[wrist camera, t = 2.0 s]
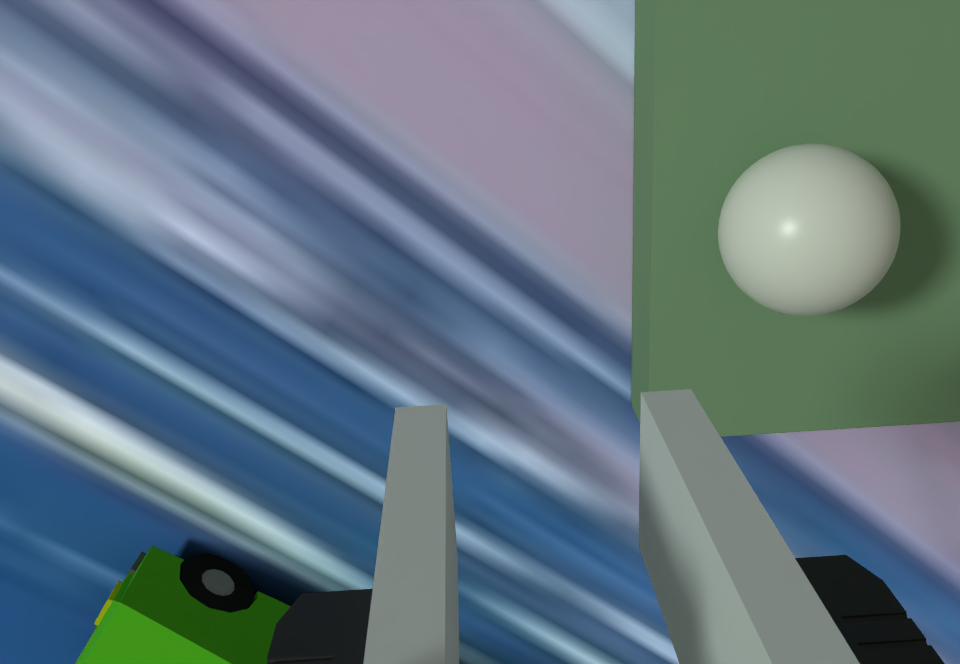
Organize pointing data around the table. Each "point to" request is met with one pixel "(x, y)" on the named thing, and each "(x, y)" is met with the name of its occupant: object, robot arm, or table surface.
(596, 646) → the table surface
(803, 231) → the ball
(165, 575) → the green toy van
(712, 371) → the putting mat
